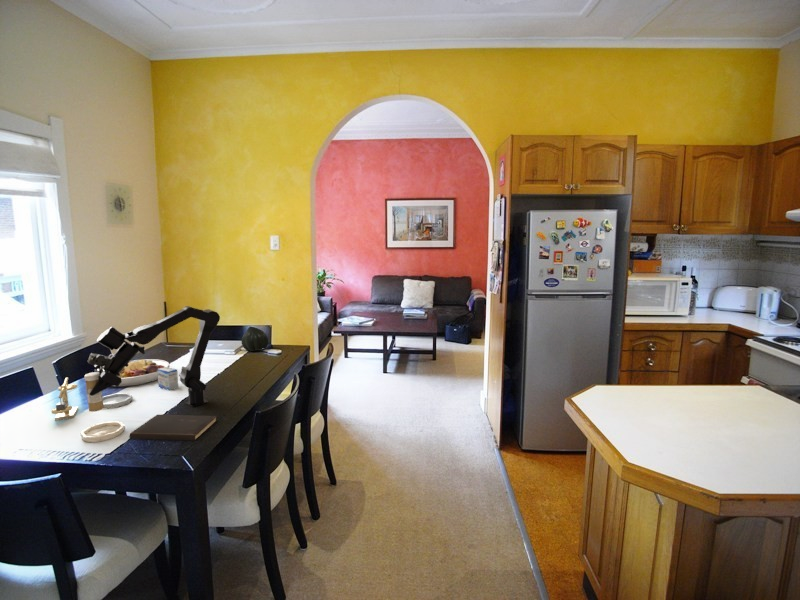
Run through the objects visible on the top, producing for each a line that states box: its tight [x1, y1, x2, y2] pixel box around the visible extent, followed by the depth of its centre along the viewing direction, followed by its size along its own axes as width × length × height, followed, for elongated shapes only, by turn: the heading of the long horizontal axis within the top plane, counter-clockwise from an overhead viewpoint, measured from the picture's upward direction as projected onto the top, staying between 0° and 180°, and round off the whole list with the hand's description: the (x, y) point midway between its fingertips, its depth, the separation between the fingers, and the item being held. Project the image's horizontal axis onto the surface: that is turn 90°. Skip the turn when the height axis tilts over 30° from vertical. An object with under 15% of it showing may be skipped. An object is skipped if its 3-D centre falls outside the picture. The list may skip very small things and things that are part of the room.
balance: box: [51, 377, 79, 422], centre depth 166 cm, size 19×6×13 cm, turn 27°
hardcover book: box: [129, 414, 218, 441], centre depth 155 cm, size 16×23×2 cm
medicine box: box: [157, 367, 179, 391], centre depth 196 cm, size 8×4×9 cm, turn 62°
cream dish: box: [80, 421, 125, 443], centre depth 151 cm, size 12×12×2 cm
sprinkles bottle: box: [84, 371, 104, 413], centre depth 154 cm, size 5×5×14 cm
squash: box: [241, 326, 269, 352], centre depth 258 cm, size 14×15×15 cm
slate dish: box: [102, 392, 134, 409], centre depth 178 cm, size 12×12×2 cm
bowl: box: [113, 358, 170, 388], centre depth 209 cm, size 30×30×8 cm
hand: (89, 393), depth 153 cm, fingers closed on sprinkles bottle, 4 cm apart
